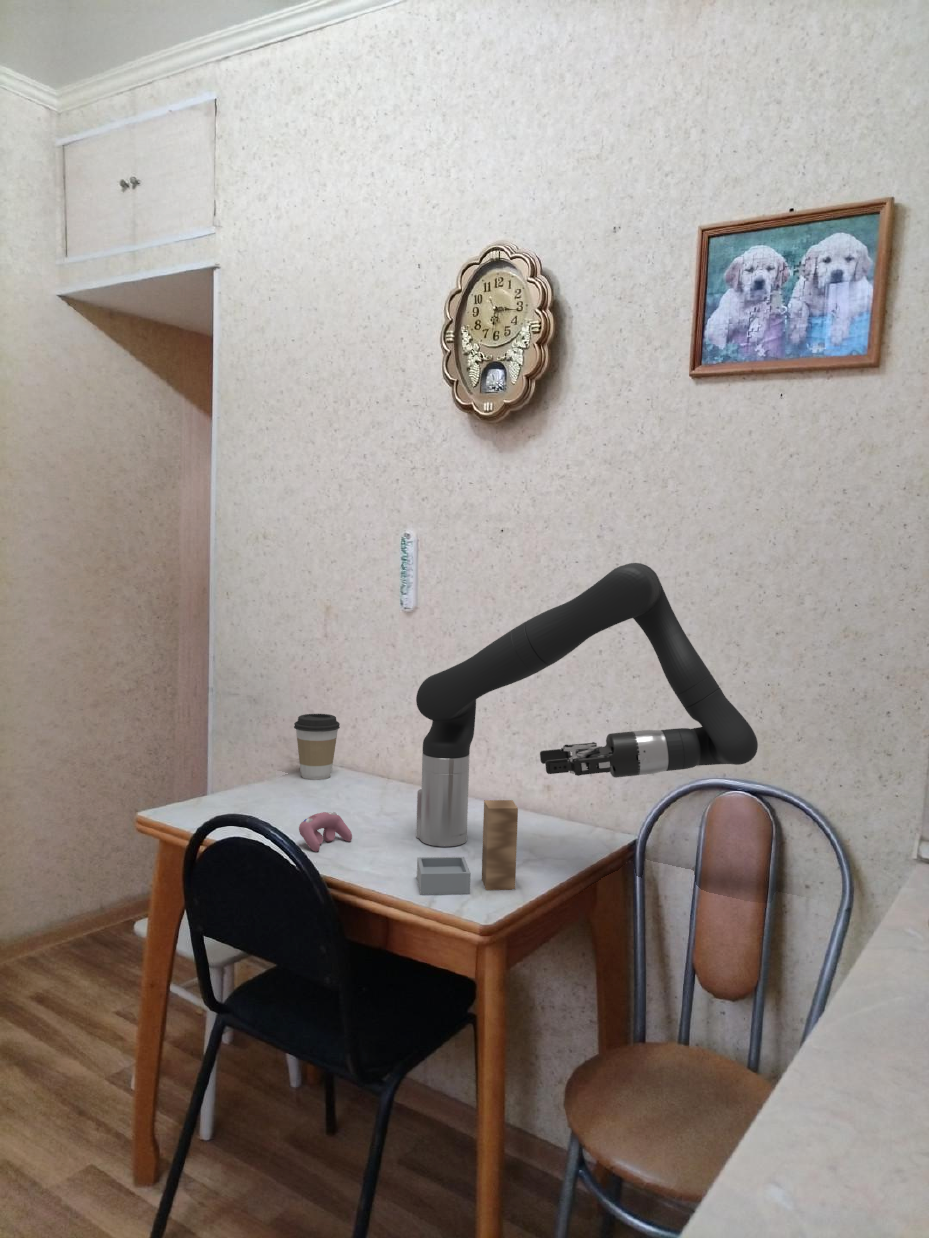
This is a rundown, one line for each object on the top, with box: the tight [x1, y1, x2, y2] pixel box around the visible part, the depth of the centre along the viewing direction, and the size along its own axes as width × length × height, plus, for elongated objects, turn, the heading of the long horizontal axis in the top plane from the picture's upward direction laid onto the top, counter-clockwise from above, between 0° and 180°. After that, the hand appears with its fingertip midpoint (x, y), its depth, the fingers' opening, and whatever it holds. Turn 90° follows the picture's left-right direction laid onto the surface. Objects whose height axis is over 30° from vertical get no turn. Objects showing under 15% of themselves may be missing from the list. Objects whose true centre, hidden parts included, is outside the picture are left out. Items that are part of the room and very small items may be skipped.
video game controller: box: [298, 811, 353, 853], centre depth 173 cm, size 10×5×7 cm, turn 141°
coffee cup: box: [293, 713, 341, 781], centre depth 224 cm, size 11×11×15 cm
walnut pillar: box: [481, 799, 519, 891], centre depth 154 cm, size 5×5×14 cm
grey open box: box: [416, 856, 471, 896], centre depth 153 cm, size 8×8×4 cm
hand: (543, 762), depth 154 cm, fingers open, 8 cm apart
